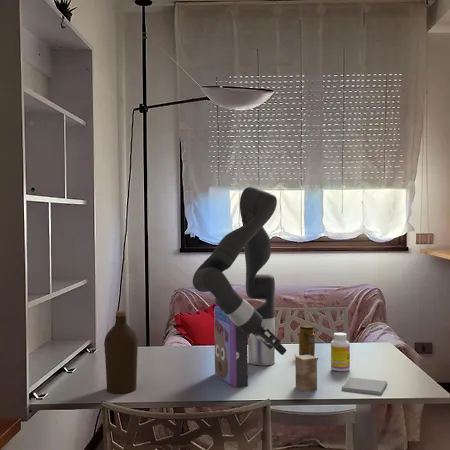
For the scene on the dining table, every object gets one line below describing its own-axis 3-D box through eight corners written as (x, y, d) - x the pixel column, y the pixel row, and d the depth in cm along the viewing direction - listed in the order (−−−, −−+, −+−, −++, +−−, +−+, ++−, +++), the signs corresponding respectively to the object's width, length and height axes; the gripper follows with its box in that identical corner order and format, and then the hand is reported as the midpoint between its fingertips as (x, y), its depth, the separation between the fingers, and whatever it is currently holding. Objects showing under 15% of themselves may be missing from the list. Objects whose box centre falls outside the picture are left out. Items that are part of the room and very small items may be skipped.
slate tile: (341, 390, 180) (341, 387, 180) (350, 380, 191) (350, 377, 191) (380, 394, 175) (380, 391, 175) (386, 384, 186) (386, 381, 186)
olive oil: (131, 395, 176) (130, 314, 176) (99, 393, 179) (98, 313, 178) (143, 385, 187) (142, 309, 186) (113, 383, 189) (112, 308, 189)
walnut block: (303, 391, 179) (302, 359, 179) (295, 386, 184) (295, 356, 184) (317, 389, 181) (316, 358, 181) (309, 385, 186) (309, 354, 185)
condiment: (312, 354, 227) (311, 324, 227) (320, 359, 219) (319, 328, 219) (294, 355, 226) (294, 325, 226) (302, 360, 217) (302, 329, 217)
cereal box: (214, 374, 199) (214, 305, 199) (227, 372, 201) (227, 304, 201) (234, 387, 183) (233, 313, 183) (247, 386, 185) (247, 312, 185)
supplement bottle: (350, 372, 200) (349, 336, 200) (330, 371, 201) (330, 335, 201) (349, 367, 207) (349, 332, 206) (331, 366, 208) (330, 331, 208)
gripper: (261, 310, 169) (296, 345, 173) (243, 303, 182) (276, 336, 186) (245, 329, 167) (280, 364, 171) (227, 321, 180) (261, 353, 185)
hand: (278, 349), depth 179 cm, fingers open, 8 cm apart
